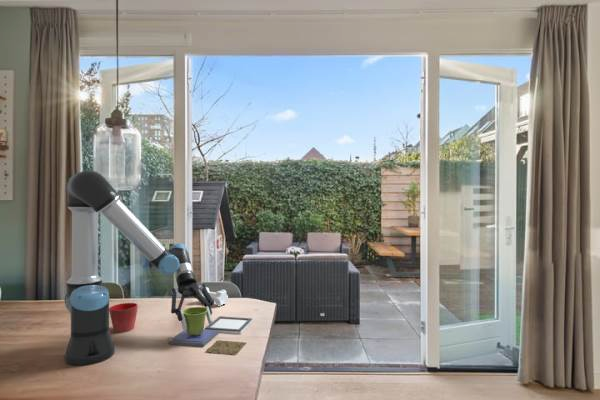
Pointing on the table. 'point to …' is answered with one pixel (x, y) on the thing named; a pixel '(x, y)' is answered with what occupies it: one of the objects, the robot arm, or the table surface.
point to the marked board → (230, 324)
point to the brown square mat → (225, 347)
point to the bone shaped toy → (217, 296)
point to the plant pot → (195, 319)
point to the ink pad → (194, 338)
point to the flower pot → (123, 316)
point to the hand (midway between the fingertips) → (198, 324)
